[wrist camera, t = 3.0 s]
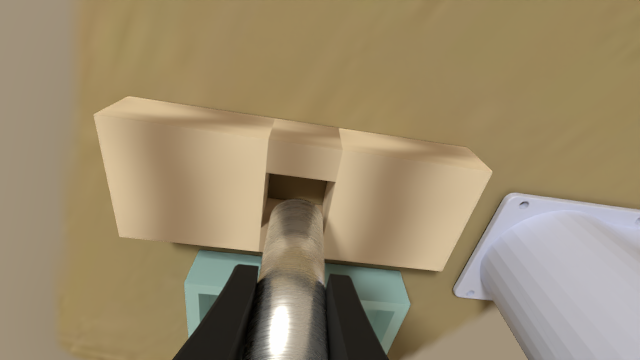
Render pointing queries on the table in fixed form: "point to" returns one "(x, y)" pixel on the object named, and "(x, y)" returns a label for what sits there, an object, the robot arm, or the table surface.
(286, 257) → the pin
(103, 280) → the table surface
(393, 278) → the tray
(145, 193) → the beige slotted block
